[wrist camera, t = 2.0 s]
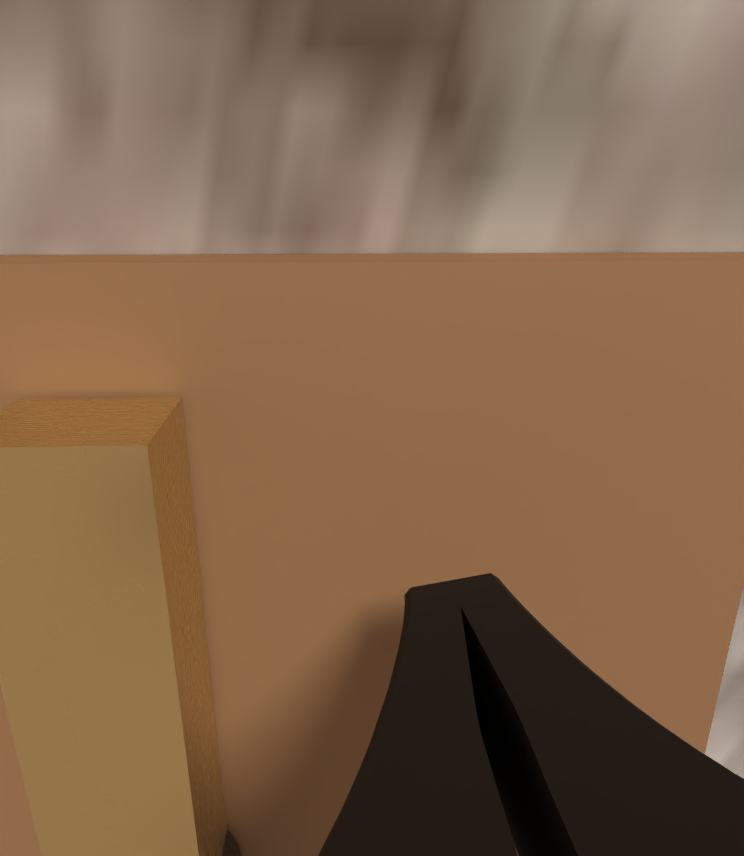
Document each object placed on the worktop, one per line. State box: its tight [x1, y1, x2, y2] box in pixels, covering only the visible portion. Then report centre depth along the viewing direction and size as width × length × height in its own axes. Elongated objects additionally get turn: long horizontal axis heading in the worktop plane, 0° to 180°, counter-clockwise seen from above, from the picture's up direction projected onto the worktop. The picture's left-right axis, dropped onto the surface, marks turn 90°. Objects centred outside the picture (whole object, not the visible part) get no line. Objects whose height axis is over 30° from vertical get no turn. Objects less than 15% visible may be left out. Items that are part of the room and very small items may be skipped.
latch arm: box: [0, 397, 242, 856], centre depth 11 cm, size 12×3×2 cm, turn 0°
